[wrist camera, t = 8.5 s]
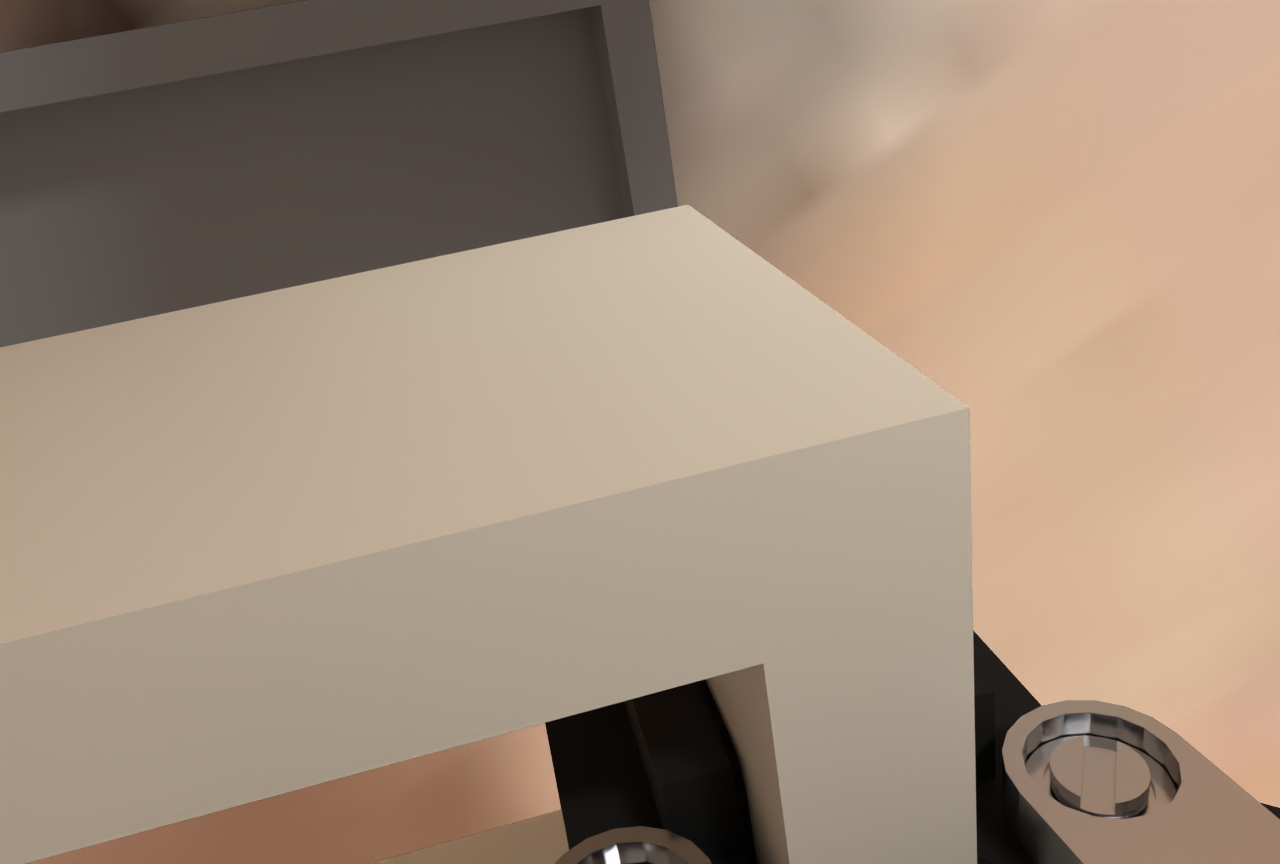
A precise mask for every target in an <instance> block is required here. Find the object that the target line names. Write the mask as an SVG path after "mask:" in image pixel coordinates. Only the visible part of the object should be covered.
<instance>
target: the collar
mask: <svg viewBox="0 0 1280 864" xmlns="http://www.w3.org/2000/svg"><path fill="white" fill-rule="evenodd" d="M704 679H705V680H706V682H707V685H708V687H709V689H710V691H711V694H712V696H713V698H714V700H715V703H716V705H717V707H718V710H719V712H720V714H721V716H722V719H723V721H724V723H725V726H726V728H727V730H728V732H729V735H730V737H731V740H732V742H733V745H734V748H735V751H736V754H737V757H738V760H739V764H740V767H741V771H742V775H743V779H744V783H745V788H746V794H747V800H748V806H749V813H750V820H751V826H752V833H753V839H754V846H755V852H756V859H757V864H977V828H976V768H975V709H974V649H973V590H972V530H971V471H970V411H969V407H968V406H966V405H965V404H964V403H962V402H961V401H960V400H958V399H957V398H955V397H954V396H953V395H951V394H950V393H948V392H947V391H946V390H944V389H943V388H942V387H940V386H939V385H937V384H936V383H935V382H933V381H932V380H930V379H929V378H928V377H926V376H925V375H924V374H922V373H921V372H919V371H918V370H917V369H915V368H914V367H912V366H911V365H910V364H908V363H907V362H906V361H904V360H903V359H901V358H900V357H899V356H897V355H896V354H894V353H893V352H892V351H890V350H889V349H888V348H886V347H885V346H883V345H882V344H881V343H879V342H878V341H876V340H875V339H874V338H872V337H871V336H870V335H868V334H867V333H865V332H864V331H863V330H861V329H860V328H858V327H857V326H856V325H854V324H853V323H852V322H850V321H849V320H847V319H846V318H845V317H843V316H842V315H841V314H839V313H838V312H836V311H835V310H834V309H832V308H831V307H829V306H828V305H827V304H825V303H824V302H823V301H821V300H820V299H818V298H817V297H816V296H814V295H813V294H811V293H810V292H809V291H807V290H806V289H805V288H803V287H802V286H800V285H799V284H798V283H796V282H795V281H793V280H792V279H791V278H789V277H788V276H787V275H785V274H784V273H782V272H781V271H780V270H778V269H777V268H775V267H774V266H773V265H771V264H770V263H769V262H767V261H766V260H764V259H763V258H762V257H760V256H759V255H757V254H756V253H755V252H753V251H752V250H751V249H749V248H748V247H746V246H745V245H744V244H742V243H741V242H739V241H738V240H737V239H735V238H734V237H733V236H731V235H730V234H728V233H727V232H726V231H724V230H723V229H721V228H720V227H719V226H717V225H716V224H715V223H713V222H712V221H710V220H709V219H708V218H706V217H705V216H703V215H702V214H701V213H699V212H698V211H697V210H695V209H694V208H692V207H691V206H690V205H684V206H679V207H674V208H669V209H664V210H659V211H655V212H650V213H645V214H640V215H635V216H631V217H626V218H621V219H616V220H611V221H607V222H602V223H597V224H592V225H587V226H583V227H578V228H573V229H568V230H563V231H558V232H554V233H549V234H544V235H539V236H534V237H530V238H525V239H520V240H515V241H510V242H506V243H501V244H496V245H491V246H486V247H481V248H477V249H472V250H467V251H462V252H457V253H453V254H448V255H443V256H438V257H433V258H429V259H424V260H419V261H414V262H409V263H405V264H400V265H395V266H390V267H385V268H380V269H376V270H371V271H366V272H361V273H356V274H352V275H347V276H342V277H337V278H332V279H328V280H323V281H318V282H313V283H308V284H303V285H299V286H294V287H289V288H284V289H279V290H275V291H270V292H265V293H260V294H255V295H251V296H246V297H241V298H236V299H231V300H227V301H222V302H217V303H212V304H207V305H202V306H198V307H193V308H188V309H183V310H178V311H174V312H169V313H164V314H159V315H154V316H150V317H145V318H140V319H135V320H130V321H125V322H121V323H116V324H111V325H106V326H101V327H97V328H92V329H87V330H82V331H77V332H73V333H68V334H63V335H58V336H53V337H49V338H44V339H39V340H34V341H29V342H24V343H20V344H15V345H10V346H5V347H0V864H26V863H29V862H33V861H37V860H40V859H44V858H48V857H51V856H55V855H59V854H62V853H66V852H70V851H73V850H77V849H81V848H85V847H88V846H92V845H96V844H99V843H103V842H107V841H110V840H114V839H118V838H121V837H125V836H129V835H132V834H136V833H140V832H144V831H147V830H151V829H155V828H158V827H162V826H166V825H169V824H173V823H177V822H180V821H184V820H188V819H191V818H195V817H199V816H203V815H206V814H210V813H214V812H217V811H221V810H225V809H228V808H232V807H236V806H239V805H243V804H247V803H250V802H254V801H258V800H262V799H265V798H269V797H273V796H276V795H280V794H284V793H287V792H291V791H295V790H298V789H302V788H306V787H309V786H313V785H317V784H321V783H324V782H328V781H332V780H335V779H339V778H343V777H346V776H350V775H354V774H357V773H361V772H365V771H368V770H372V769H376V768H380V767H383V766H387V765H391V764H394V763H398V762H402V761H405V760H409V759H413V758H416V757H420V756H424V755H427V754H431V753H435V752H439V751H442V750H446V749H450V748H453V747H457V746H461V745H464V744H468V743H472V742H475V741H479V740H483V739H486V738H490V737H494V736H498V735H501V734H505V733H509V732H512V731H516V730H520V729H523V728H527V727H531V726H534V725H538V724H542V723H545V722H549V721H553V720H557V719H560V718H564V717H568V716H571V715H575V714H579V713H582V712H586V711H590V710H593V709H597V708H601V707H604V706H608V705H612V704H616V703H619V702H623V701H627V700H630V699H634V698H638V697H641V696H645V695H649V694H652V693H656V692H660V691H663V690H667V689H671V688H675V687H678V686H682V685H686V684H689V683H693V682H697V681H700V680H704ZM567 851H569V847H568V841H567V836H566V831H565V825H564V820H563V815H562V810H558V811H554V812H551V813H547V814H544V815H540V816H537V817H533V818H530V819H526V820H523V821H519V822H516V823H512V824H509V825H505V826H502V827H498V828H494V829H491V830H487V831H484V832H480V833H477V834H473V835H470V836H466V837H463V838H459V839H456V840H452V841H449V842H445V843H441V844H438V845H434V846H431V847H427V848H424V849H420V850H417V851H413V852H410V853H406V854H403V855H399V856H396V857H392V858H388V859H385V860H381V861H378V862H374V863H371V864H555V863H556V861H557V860H558V859H559V858H560V857H561V856H562V855H563V854H564V853H566V852H567Z"/></svg>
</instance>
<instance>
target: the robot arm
mask: <svg viewBox="0 0 1280 864" xmlns="http://www.w3.org/2000/svg"><path fill="white" fill-rule="evenodd" d="M973 649H974V709H975V768H976V828H977V864H1280V808H1278V807H1274V806H1270V805H1266V804H1263V803H1259V802H1258V801H1257V800H1256V799H1255V798H1254V797H1252V796H1251V795H1250V794H1249V793H1248V792H1246V791H1245V790H1244V789H1243V788H1242V787H1240V786H1239V785H1238V784H1237V783H1236V782H1234V781H1233V780H1232V779H1231V778H1230V777H1228V776H1227V775H1226V774H1225V773H1224V772H1222V771H1221V770H1220V769H1219V768H1218V767H1217V766H1215V765H1214V764H1213V763H1212V762H1211V761H1209V760H1208V759H1207V758H1206V757H1205V756H1203V755H1202V754H1201V753H1200V752H1199V751H1197V750H1196V749H1195V748H1194V747H1193V746H1191V745H1190V744H1189V743H1188V742H1187V741H1185V740H1184V739H1183V738H1182V737H1181V736H1180V735H1178V734H1177V733H1176V732H1174V731H1173V730H1171V729H1170V728H1168V727H1167V726H1165V725H1163V724H1162V723H1160V722H1159V721H1157V720H1156V719H1154V718H1153V717H1150V716H1148V715H1145V714H1143V713H1140V712H1138V711H1135V710H1133V709H1130V708H1128V707H1125V706H1121V705H1115V704H1110V703H1105V702H1100V701H1079V700H1066V701H1062V702H1057V703H1053V704H1048V705H1043V706H1041V705H1040V704H1039V702H1038V701H1037V700H1036V699H1035V698H1034V697H1033V696H1032V695H1031V694H1030V693H1029V691H1028V690H1027V689H1026V688H1025V687H1024V686H1023V685H1022V684H1021V683H1020V681H1019V680H1018V679H1017V678H1016V677H1015V676H1014V675H1013V674H1012V673H1011V672H1010V670H1009V669H1008V668H1007V667H1006V666H1005V665H1004V664H1003V663H1002V662H1001V660H1000V659H999V658H998V657H997V656H996V655H995V654H994V653H993V652H992V651H991V649H990V648H989V647H988V646H987V645H986V644H985V643H984V642H983V641H982V640H981V638H980V637H979V636H978V635H977V634H976V633H975V632H974V631H973ZM545 724H546V730H547V735H548V740H549V746H550V751H551V756H552V761H553V767H554V772H555V777H556V783H557V788H558V793H559V799H560V804H561V809H562V815H563V820H564V825H565V831H566V836H567V841H568V847H569V851H567V852H566V853H564V854H563V855H562V856H561V857H560V858H559V859H558V860H557V861H556V863H555V864H757V859H756V852H755V846H754V839H753V833H752V826H751V820H750V813H749V806H748V800H747V794H746V788H745V783H744V779H743V775H742V771H741V767H740V764H739V760H738V757H737V754H736V751H735V748H734V745H733V742H732V740H731V737H730V735H729V732H728V730H727V728H726V726H725V723H724V721H723V719H722V716H721V714H720V712H719V710H718V707H717V705H716V703H715V700H714V698H713V696H712V694H711V691H710V689H709V687H708V685H707V682H706V680H705V679H704V680H700V681H697V682H693V683H689V684H686V685H682V686H678V687H675V688H671V689H667V690H663V691H660V692H656V693H652V694H649V695H645V696H641V697H638V698H634V699H630V700H627V701H623V702H619V703H616V704H612V705H608V706H604V707H601V708H597V709H593V710H590V711H586V712H582V713H579V714H575V715H571V716H568V717H564V718H560V719H557V720H553V721H549V722H545Z"/></svg>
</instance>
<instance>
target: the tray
mask: <svg viewBox="0 0 1280 864" xmlns="http://www.w3.org/2000/svg"><path fill="white" fill-rule="evenodd" d="M674 207H678V205H677V198H676V191H675V184H674V177H673V170H672V163H671V156H670V149H669V141H668V134H667V127H666V120H665V113H664V106H663V99H662V92H661V85H660V77H659V70H658V63H657V56H656V49H655V42H654V35H653V28H652V21H651V13H650V6H649V0H305V1H299V2H293V3H287V4H281V5H275V6H270V7H264V8H258V9H252V10H246V11H240V12H235V13H229V14H223V15H217V16H211V17H205V18H200V19H194V20H188V21H182V22H176V23H170V24H165V25H159V26H153V27H147V28H141V29H135V30H130V31H124V32H118V33H112V34H106V35H100V36H95V37H89V38H83V39H77V40H71V41H65V42H60V43H54V44H48V45H42V46H36V47H30V48H25V49H19V50H13V51H7V52H1V53H0V347H5V346H10V345H15V344H20V343H24V342H29V341H34V340H39V339H44V338H49V337H53V336H58V335H63V334H68V333H73V332H77V331H82V330H87V329H92V328H97V327H101V326H106V325H111V324H116V323H121V322H125V321H130V320H135V319H140V318H145V317H150V316H154V315H159V314H164V313H169V312H174V311H178V310H183V309H188V308H193V307H198V306H202V305H207V304H212V303H217V302H222V301H227V300H231V299H236V298H241V297H246V296H251V295H255V294H260V293H265V292H270V291H275V290H279V289H284V288H289V287H294V286H299V285H303V284H308V283H313V282H318V281H323V280H328V279H332V278H337V277H342V276H347V275H352V274H356V273H361V272H366V271H371V270H376V269H380V268H385V267H390V266H395V265H400V264H405V263H409V262H414V261H419V260H424V259H429V258H433V257H438V256H443V255H448V254H453V253H457V252H462V251H467V250H472V249H477V248H481V247H486V246H491V245H496V244H501V243H506V242H510V241H515V240H520V239H525V238H530V237H534V236H539V235H544V234H549V233H554V232H558V231H563V230H568V229H573V228H578V227H583V226H587V225H592V224H597V223H602V222H607V221H611V220H616V219H621V218H626V217H631V216H635V215H640V214H645V213H650V212H655V211H659V210H664V209H669V208H674Z"/></svg>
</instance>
